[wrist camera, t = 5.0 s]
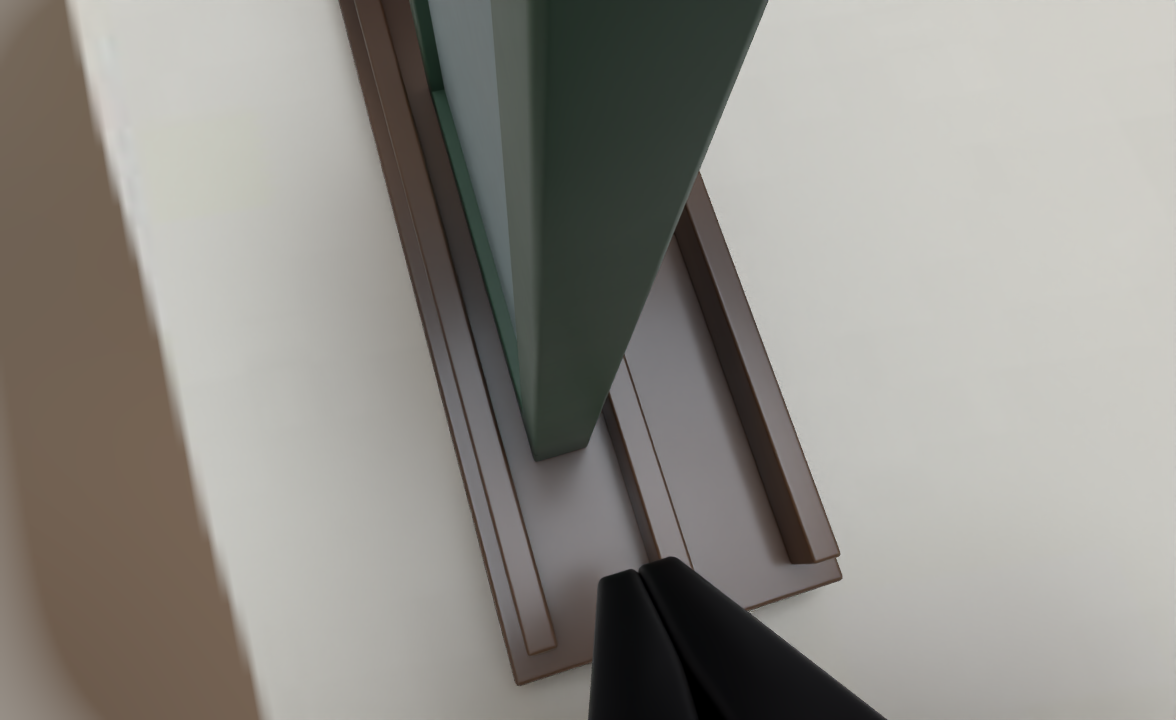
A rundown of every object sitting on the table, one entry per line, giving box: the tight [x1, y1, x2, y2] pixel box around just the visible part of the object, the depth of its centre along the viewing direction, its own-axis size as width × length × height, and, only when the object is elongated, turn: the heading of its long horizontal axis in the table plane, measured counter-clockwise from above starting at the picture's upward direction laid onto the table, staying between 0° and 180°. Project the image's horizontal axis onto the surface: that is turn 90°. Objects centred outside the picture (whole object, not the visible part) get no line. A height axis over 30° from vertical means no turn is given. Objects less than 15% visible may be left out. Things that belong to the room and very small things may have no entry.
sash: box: [409, 0, 768, 461], centre depth 9 cm, size 8×1×13 cm, turn 17°
